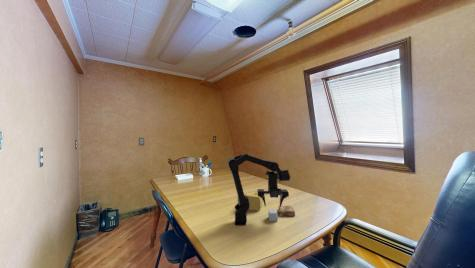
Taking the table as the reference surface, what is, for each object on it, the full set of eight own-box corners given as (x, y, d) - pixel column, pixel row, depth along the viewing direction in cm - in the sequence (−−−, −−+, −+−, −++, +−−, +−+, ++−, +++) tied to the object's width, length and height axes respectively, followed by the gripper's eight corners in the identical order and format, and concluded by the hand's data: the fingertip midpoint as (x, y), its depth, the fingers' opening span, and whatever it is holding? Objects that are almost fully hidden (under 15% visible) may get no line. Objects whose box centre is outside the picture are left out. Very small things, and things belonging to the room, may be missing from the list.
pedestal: (280, 215, 123) (280, 211, 123) (278, 209, 132) (278, 205, 132) (294, 216, 123) (294, 211, 123) (291, 210, 132) (291, 205, 132)
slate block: (269, 221, 117) (269, 213, 117) (268, 217, 122) (268, 209, 122) (277, 221, 117) (277, 213, 116) (276, 217, 122) (276, 209, 121)
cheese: (249, 203, 144) (249, 190, 143) (263, 205, 140) (263, 192, 140) (245, 209, 134) (244, 195, 133) (260, 211, 130) (260, 197, 130)
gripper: (258, 185, 111) (258, 211, 111) (290, 185, 110) (290, 212, 110) (257, 180, 122) (257, 204, 122) (287, 180, 121) (286, 204, 121)
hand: (272, 206), depth 119 cm, fingers open, 9 cm apart
